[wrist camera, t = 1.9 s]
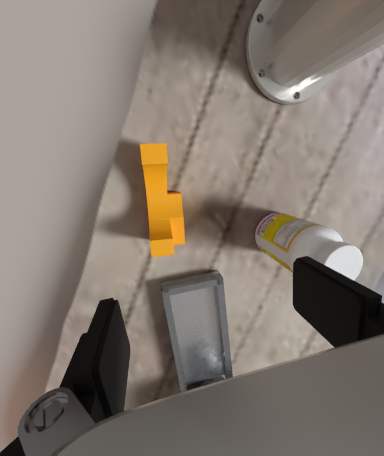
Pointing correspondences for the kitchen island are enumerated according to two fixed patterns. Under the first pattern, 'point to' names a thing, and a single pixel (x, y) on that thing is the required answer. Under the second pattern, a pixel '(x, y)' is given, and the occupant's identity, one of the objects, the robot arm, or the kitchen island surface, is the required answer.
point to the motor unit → (198, 328)
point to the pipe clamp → (161, 202)
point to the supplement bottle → (306, 244)
